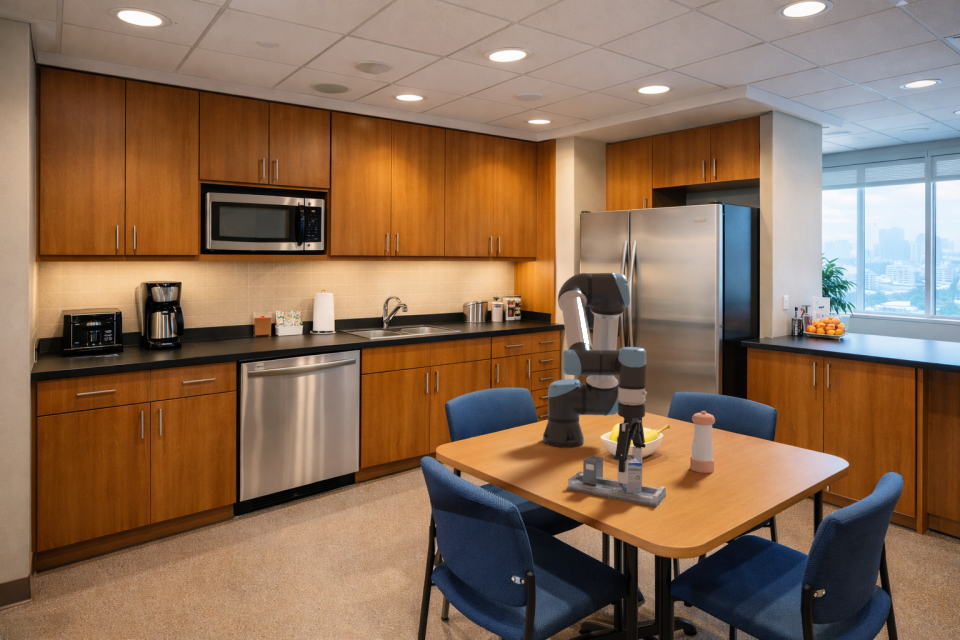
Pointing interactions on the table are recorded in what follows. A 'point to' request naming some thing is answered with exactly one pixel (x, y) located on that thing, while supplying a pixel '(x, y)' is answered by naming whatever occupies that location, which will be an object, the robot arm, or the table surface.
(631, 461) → the medicine box
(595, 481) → the rail
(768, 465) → the table surface
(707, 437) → the pepper shaker
